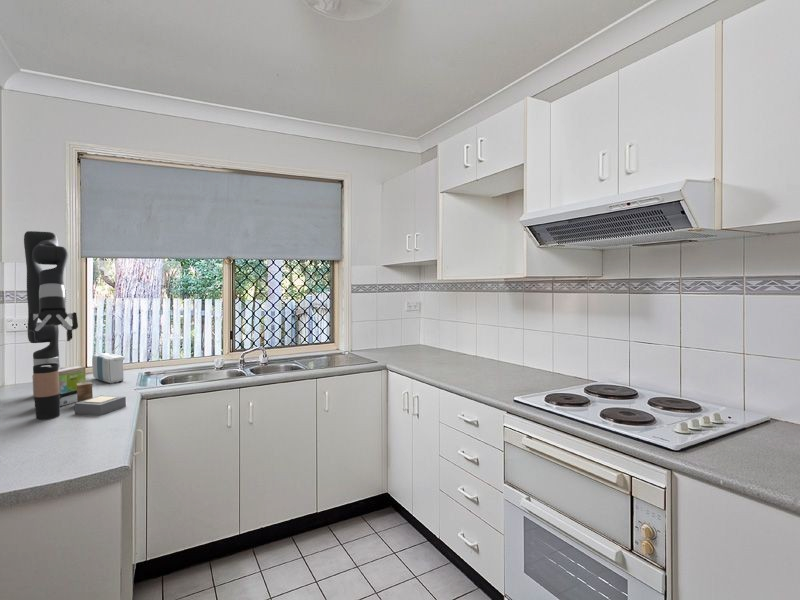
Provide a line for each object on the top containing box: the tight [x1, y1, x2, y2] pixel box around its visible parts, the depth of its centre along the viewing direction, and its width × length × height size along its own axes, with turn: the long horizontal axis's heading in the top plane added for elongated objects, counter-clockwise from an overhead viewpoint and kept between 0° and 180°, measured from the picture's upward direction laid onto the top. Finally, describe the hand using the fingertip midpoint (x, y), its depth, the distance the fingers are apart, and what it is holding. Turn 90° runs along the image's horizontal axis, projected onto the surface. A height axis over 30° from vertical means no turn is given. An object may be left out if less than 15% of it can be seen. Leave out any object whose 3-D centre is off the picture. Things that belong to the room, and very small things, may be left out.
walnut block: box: [77, 381, 94, 402], centre depth 187 cm, size 5×5×9 cm
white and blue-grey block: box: [91, 342, 126, 384], centre depth 232 cm, size 21×8×20 cm, turn 53°
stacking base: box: [74, 394, 127, 416], centre depth 180 cm, size 12×12×4 cm
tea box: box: [58, 365, 87, 407], centre depth 190 cm, size 15×10×15 cm, turn 168°
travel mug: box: [32, 363, 61, 421], centre depth 171 cm, size 8×8×20 cm
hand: (53, 341), depth 161 cm, fingers open, 8 cm apart
